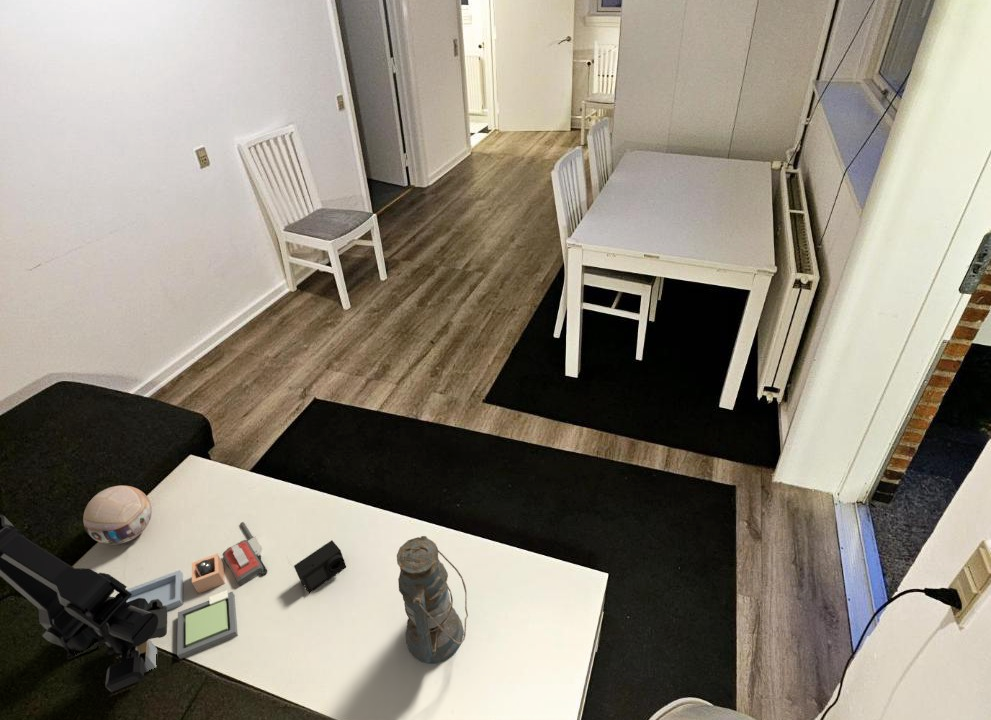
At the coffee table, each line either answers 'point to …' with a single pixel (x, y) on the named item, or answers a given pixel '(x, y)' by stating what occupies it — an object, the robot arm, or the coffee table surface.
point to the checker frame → (213, 640)
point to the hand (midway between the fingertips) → (144, 661)
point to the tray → (161, 590)
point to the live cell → (148, 654)
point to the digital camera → (320, 566)
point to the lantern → (428, 602)
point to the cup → (210, 579)
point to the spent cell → (205, 567)
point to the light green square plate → (206, 623)
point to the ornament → (117, 515)
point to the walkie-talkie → (245, 558)
